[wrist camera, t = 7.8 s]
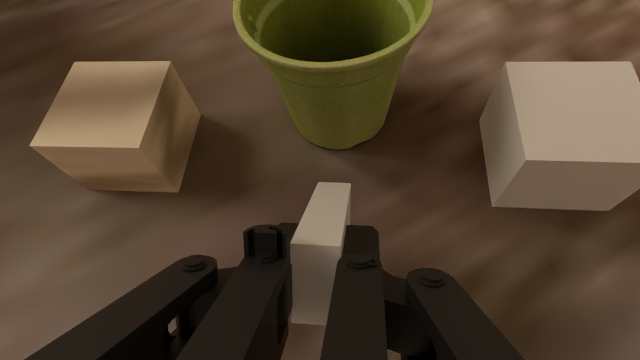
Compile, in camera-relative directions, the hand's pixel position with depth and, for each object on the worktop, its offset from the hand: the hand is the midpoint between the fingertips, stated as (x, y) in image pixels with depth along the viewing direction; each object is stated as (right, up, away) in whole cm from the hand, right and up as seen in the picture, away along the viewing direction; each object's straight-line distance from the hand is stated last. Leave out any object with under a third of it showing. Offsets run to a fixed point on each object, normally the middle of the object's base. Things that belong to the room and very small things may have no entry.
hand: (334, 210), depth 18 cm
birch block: (-12, +3, +8) cm, 15 cm away
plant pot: (+1, +6, +8) cm, 10 cm away
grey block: (+12, +2, +5) cm, 13 cm away
